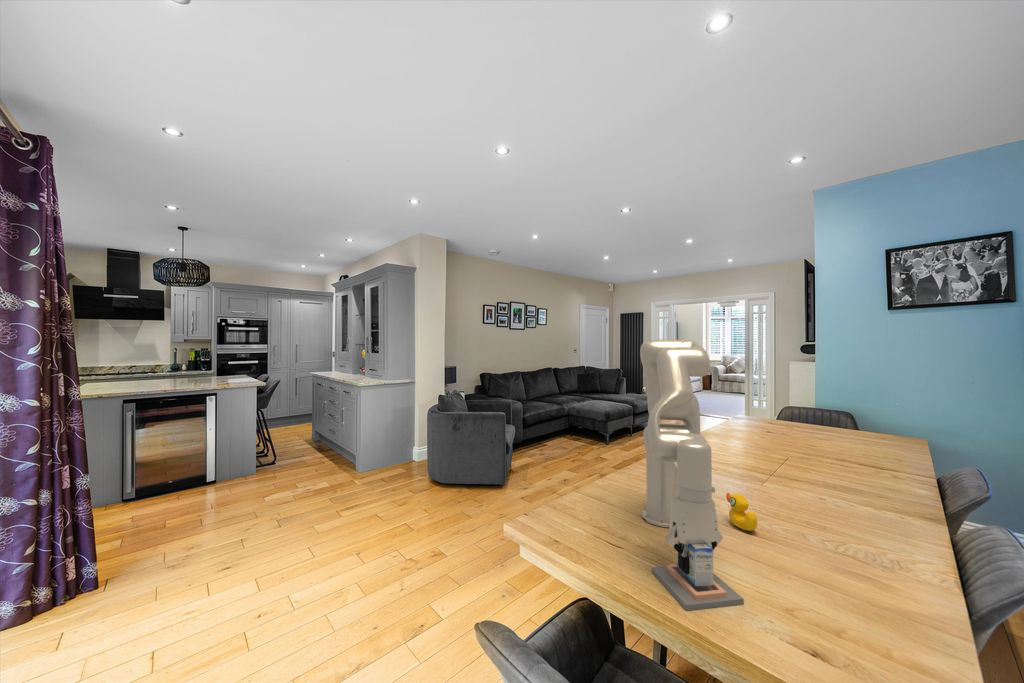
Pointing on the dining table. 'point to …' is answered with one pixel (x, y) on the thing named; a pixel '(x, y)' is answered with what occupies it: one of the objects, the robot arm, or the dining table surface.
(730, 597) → the base plate
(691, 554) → the medicine box
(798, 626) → the dining table surface
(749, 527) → the duckling
